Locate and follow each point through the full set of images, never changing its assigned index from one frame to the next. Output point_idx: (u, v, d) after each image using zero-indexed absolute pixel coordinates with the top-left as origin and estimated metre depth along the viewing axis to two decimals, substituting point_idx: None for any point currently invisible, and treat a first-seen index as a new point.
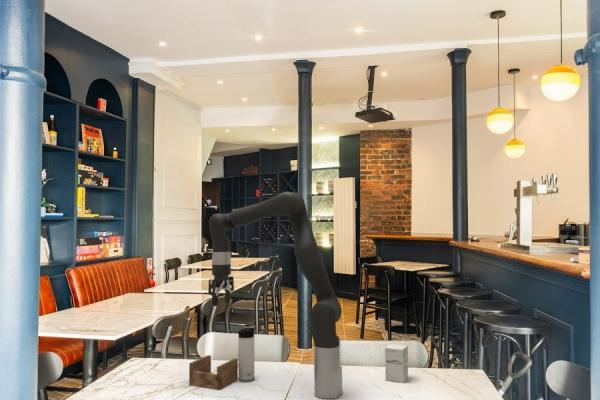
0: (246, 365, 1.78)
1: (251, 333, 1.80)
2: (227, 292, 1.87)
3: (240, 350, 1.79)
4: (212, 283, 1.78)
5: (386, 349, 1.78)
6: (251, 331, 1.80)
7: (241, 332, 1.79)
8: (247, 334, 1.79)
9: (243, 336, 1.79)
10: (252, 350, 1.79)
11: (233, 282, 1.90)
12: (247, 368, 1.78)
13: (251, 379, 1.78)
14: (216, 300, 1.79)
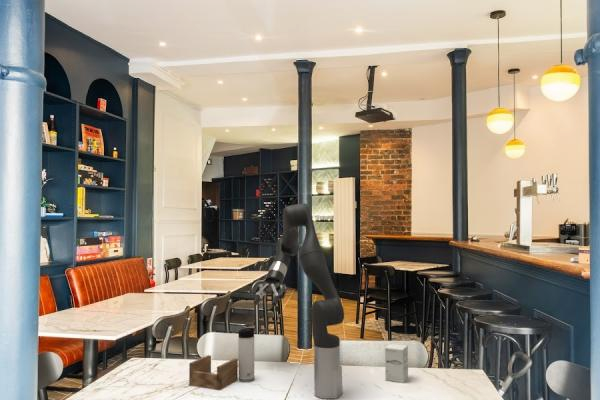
0: (246, 365, 1.78)
1: (251, 333, 1.80)
2: None
3: (240, 350, 1.79)
4: None
5: (386, 349, 1.78)
6: (251, 331, 1.80)
7: (241, 332, 1.79)
8: (247, 334, 1.79)
9: (243, 336, 1.79)
10: (252, 350, 1.79)
11: (283, 288, 1.94)
12: (247, 368, 1.78)
13: (251, 379, 1.78)
14: (255, 298, 1.95)
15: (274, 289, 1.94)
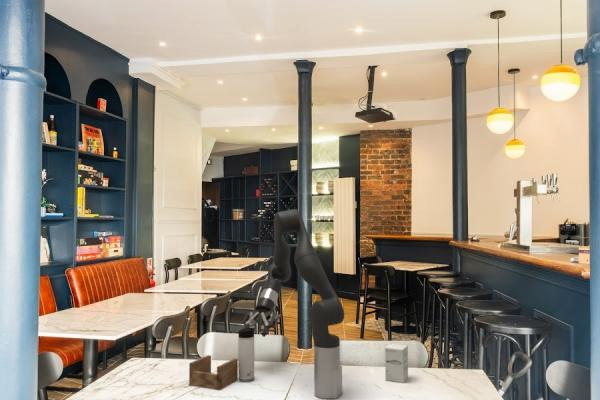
0: (246, 365, 1.78)
1: (251, 333, 1.80)
2: None
3: (240, 350, 1.79)
4: None
5: (386, 349, 1.78)
6: (251, 331, 1.80)
7: (241, 332, 1.79)
8: (247, 334, 1.79)
9: (243, 336, 1.79)
10: (252, 350, 1.79)
11: (273, 317, 1.88)
12: (247, 368, 1.78)
13: (251, 379, 1.78)
14: None
15: (264, 318, 1.89)
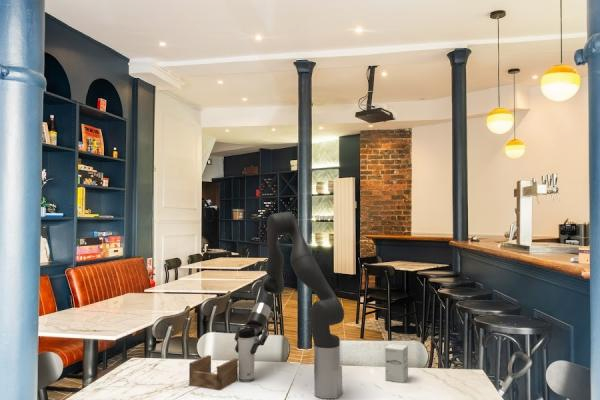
0: (246, 365, 1.78)
1: (251, 333, 1.79)
2: None
3: (240, 350, 1.79)
4: None
5: (386, 349, 1.78)
6: (251, 331, 1.79)
7: (241, 332, 1.79)
8: (247, 334, 1.79)
9: (243, 336, 1.78)
10: None
11: (264, 334, 1.82)
12: (247, 368, 1.78)
13: (251, 379, 1.78)
14: (237, 345, 1.82)
15: (254, 335, 1.82)
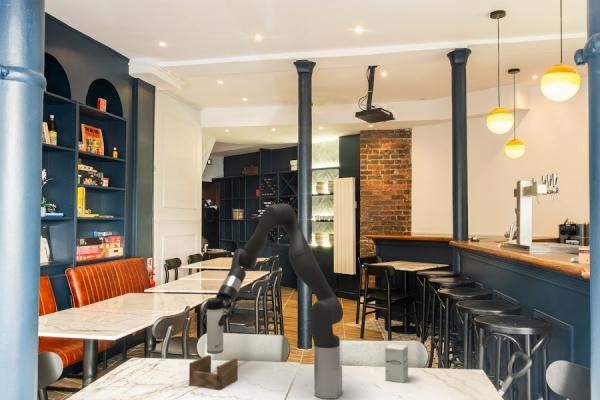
0: (214, 337, 1.76)
1: (219, 305, 1.78)
2: None
3: (208, 322, 1.77)
4: None
5: (386, 349, 1.78)
6: (219, 303, 1.78)
7: (209, 304, 1.77)
8: (215, 306, 1.77)
9: (211, 308, 1.77)
10: None
11: (233, 307, 1.80)
12: (215, 340, 1.76)
13: (219, 351, 1.76)
14: (205, 317, 1.80)
15: (223, 307, 1.80)
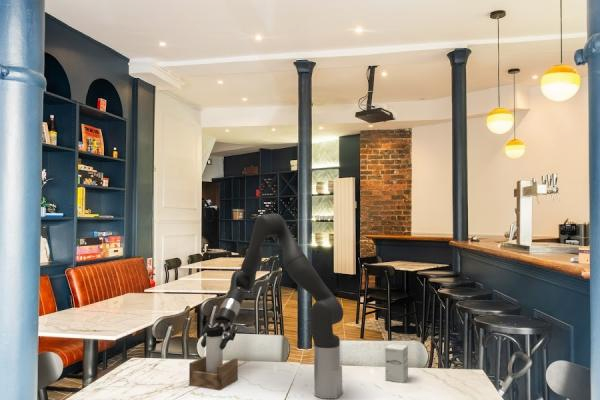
0: (214, 365, 1.75)
1: (219, 332, 1.77)
2: None
3: (207, 349, 1.76)
4: None
5: (386, 349, 1.78)
6: (219, 330, 1.77)
7: (209, 331, 1.76)
8: (215, 333, 1.76)
9: (211, 335, 1.76)
10: (220, 349, 1.77)
11: (233, 329, 1.79)
12: (215, 367, 1.75)
13: None
14: (203, 340, 1.80)
15: (223, 330, 1.79)
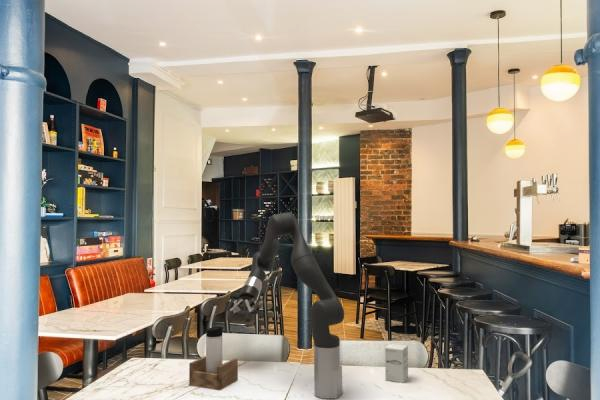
0: (214, 365, 1.75)
1: (219, 332, 1.77)
2: None
3: (207, 349, 1.76)
4: None
5: (386, 349, 1.78)
6: (219, 330, 1.77)
7: (208, 331, 1.76)
8: (214, 333, 1.76)
9: (210, 335, 1.76)
10: (220, 349, 1.77)
11: (257, 304, 1.92)
12: (215, 367, 1.75)
13: None
14: (229, 314, 1.93)
15: (248, 305, 1.92)
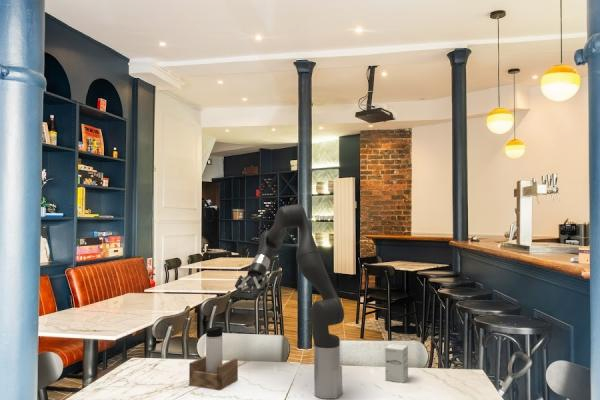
0: (214, 365, 1.75)
1: (219, 332, 1.77)
2: None
3: (207, 349, 1.76)
4: None
5: (386, 349, 1.78)
6: (219, 330, 1.77)
7: (208, 331, 1.76)
8: (214, 333, 1.76)
9: (210, 335, 1.76)
10: (220, 349, 1.77)
11: (265, 281, 1.93)
12: (215, 367, 1.75)
13: None
14: (237, 291, 1.94)
15: (256, 282, 1.94)
